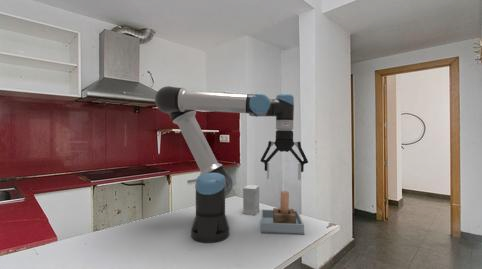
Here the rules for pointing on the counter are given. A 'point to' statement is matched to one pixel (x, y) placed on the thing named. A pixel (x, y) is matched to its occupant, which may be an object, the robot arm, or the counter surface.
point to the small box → (251, 199)
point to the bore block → (284, 216)
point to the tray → (280, 224)
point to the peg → (284, 202)
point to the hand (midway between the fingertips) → (283, 179)
